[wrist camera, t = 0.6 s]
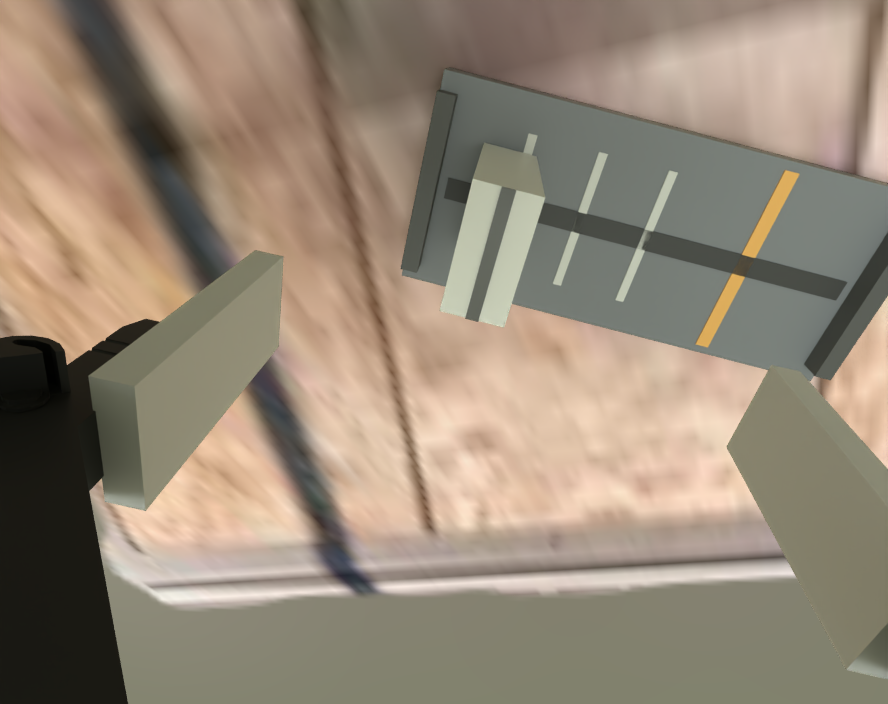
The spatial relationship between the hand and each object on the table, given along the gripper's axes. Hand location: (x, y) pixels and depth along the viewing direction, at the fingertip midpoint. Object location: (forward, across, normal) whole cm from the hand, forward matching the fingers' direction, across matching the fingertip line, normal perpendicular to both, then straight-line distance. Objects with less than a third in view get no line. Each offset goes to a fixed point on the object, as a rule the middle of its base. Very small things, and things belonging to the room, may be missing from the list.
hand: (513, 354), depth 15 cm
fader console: (+23, +8, -1) cm, 24 cm away
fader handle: (+19, -1, -1) cm, 20 cm away
